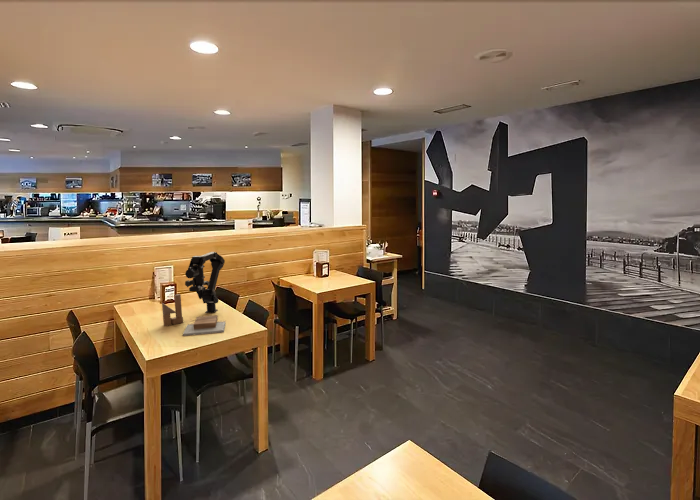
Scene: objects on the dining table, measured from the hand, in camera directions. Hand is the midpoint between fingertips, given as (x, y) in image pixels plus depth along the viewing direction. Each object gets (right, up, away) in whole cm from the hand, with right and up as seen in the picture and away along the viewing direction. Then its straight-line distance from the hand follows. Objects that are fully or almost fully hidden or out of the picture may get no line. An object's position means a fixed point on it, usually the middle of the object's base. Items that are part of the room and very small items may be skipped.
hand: (200, 299), depth 258 cm
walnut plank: (+9, -11, -12) cm, 18 cm away
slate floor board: (+11, -15, -23) cm, 29 cm away
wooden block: (-12, -14, -12) cm, 22 cm away
